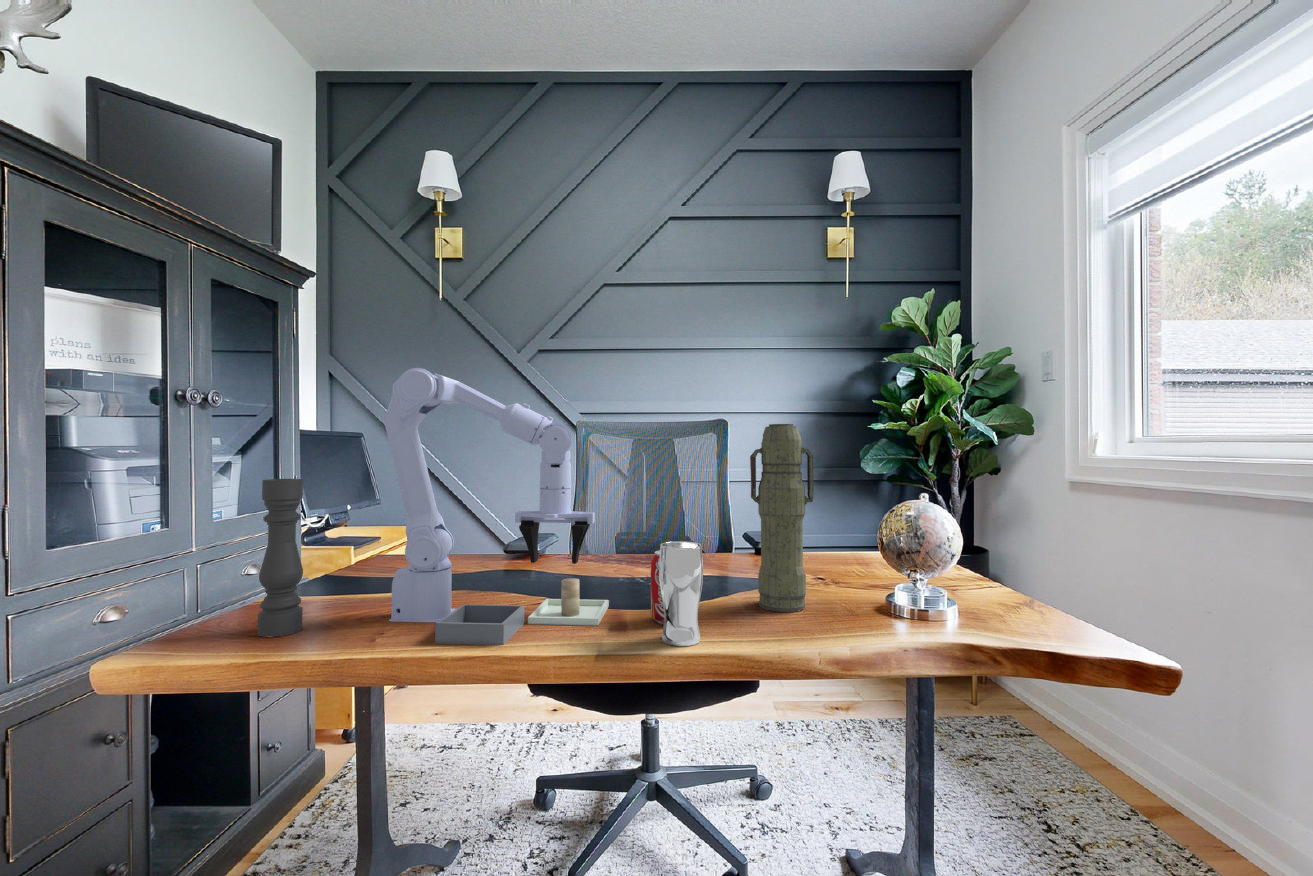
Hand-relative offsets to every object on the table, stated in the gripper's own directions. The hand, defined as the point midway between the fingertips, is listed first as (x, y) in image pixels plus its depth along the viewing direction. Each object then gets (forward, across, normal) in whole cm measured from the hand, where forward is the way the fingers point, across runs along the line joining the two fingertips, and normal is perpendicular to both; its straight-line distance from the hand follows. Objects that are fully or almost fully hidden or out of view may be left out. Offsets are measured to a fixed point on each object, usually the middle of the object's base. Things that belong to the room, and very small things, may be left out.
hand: (554, 562), depth 104 cm
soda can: (+9, +22, -3) cm, 24 cm away
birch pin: (+9, +4, -2) cm, 10 cm away
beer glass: (+9, +24, -13) cm, 29 cm away
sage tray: (+9, +4, -2) cm, 10 cm away
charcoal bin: (+9, -8, -14) cm, 18 cm away
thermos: (+9, +42, +8) cm, 44 cm away
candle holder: (+10, -42, -14) cm, 46 cm away
